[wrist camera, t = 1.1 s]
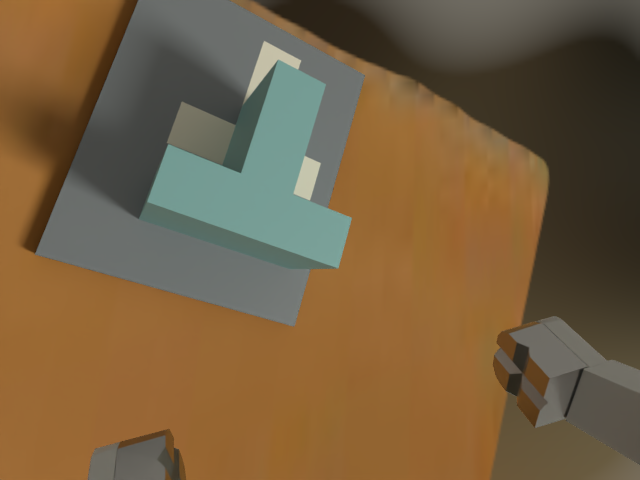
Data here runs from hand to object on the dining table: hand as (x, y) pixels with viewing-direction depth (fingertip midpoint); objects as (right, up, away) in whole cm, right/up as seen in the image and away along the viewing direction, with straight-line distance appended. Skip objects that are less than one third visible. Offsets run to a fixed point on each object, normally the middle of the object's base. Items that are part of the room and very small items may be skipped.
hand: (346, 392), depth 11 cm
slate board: (-10, +12, +31) cm, 35 cm away
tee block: (-8, +9, +30) cm, 33 cm away
